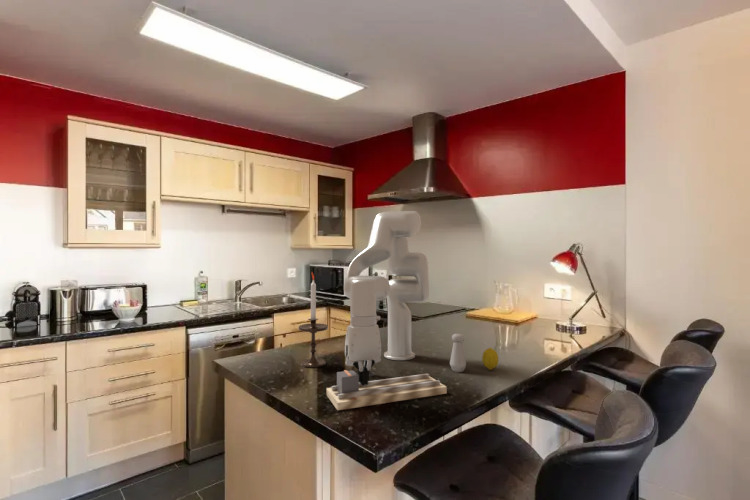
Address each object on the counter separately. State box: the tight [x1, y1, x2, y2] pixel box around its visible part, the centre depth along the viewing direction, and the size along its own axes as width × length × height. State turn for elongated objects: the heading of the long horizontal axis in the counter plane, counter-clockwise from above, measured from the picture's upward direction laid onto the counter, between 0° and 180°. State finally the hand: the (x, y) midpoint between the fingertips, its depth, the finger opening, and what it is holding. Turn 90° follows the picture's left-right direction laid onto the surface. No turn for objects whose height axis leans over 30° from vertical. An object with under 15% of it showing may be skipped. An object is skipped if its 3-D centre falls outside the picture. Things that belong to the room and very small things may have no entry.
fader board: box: [325, 373, 448, 411], centre depth 115 cm, size 34×12×3 cm, turn 111°
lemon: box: [481, 347, 499, 371], centre depth 139 cm, size 6×6×8 cm
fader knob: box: [336, 369, 359, 394], centre depth 111 cm, size 5×5×5 cm
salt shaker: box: [449, 333, 467, 373], centre depth 138 cm, size 6×6×13 cm
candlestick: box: [298, 271, 329, 369], centre depth 145 cm, size 11×11×35 cm
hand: (363, 383), depth 112 cm, fingers closed
